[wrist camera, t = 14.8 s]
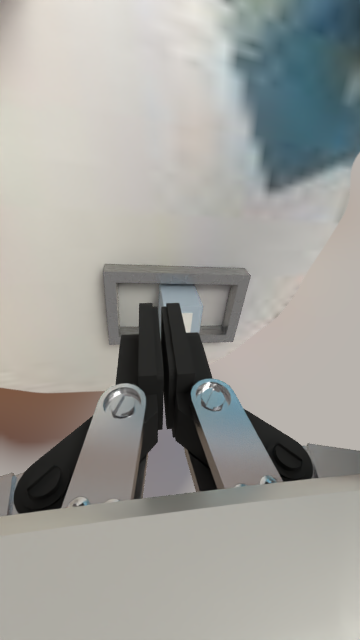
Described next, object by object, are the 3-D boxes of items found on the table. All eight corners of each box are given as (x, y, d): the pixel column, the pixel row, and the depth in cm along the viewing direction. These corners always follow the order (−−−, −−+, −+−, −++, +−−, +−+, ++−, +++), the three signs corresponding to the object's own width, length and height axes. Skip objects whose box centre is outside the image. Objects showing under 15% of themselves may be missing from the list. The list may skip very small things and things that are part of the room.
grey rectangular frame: (244, 268, 37) (250, 275, 35) (228, 332, 44) (233, 341, 42) (105, 264, 34) (103, 271, 32) (110, 334, 40) (109, 344, 38)
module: (193, 281, 37) (203, 307, 31) (188, 320, 41) (197, 349, 35) (159, 281, 36) (164, 307, 31) (158, 320, 40) (161, 350, 34)
